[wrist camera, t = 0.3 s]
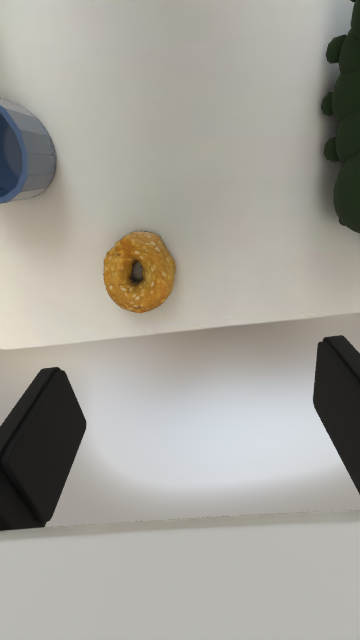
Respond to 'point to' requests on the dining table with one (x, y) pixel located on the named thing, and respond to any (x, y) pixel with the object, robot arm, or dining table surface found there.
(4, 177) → the crock
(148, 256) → the bagel
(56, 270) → the dining table surface
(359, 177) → the toy figurine
